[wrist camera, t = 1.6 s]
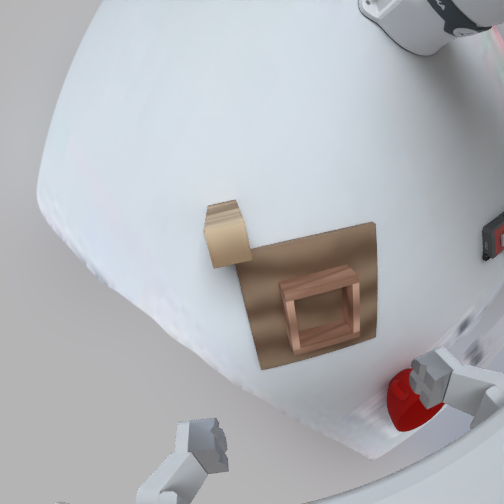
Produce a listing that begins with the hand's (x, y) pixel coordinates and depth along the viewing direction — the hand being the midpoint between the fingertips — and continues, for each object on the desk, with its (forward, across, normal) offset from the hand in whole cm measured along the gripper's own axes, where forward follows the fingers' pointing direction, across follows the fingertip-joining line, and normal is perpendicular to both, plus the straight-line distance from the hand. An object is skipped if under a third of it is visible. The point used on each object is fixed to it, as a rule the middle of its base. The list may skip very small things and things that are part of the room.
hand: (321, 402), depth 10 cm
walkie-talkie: (+30, -53, +11) cm, 62 cm away
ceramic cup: (+31, -24, +38) cm, 54 cm away
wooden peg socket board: (+29, -7, +12) cm, 33 cm away
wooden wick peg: (+29, +3, -3) cm, 29 cm away
